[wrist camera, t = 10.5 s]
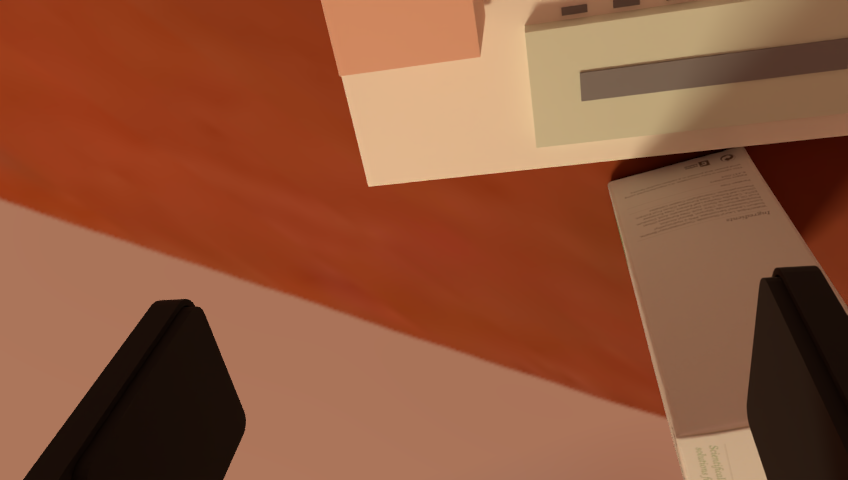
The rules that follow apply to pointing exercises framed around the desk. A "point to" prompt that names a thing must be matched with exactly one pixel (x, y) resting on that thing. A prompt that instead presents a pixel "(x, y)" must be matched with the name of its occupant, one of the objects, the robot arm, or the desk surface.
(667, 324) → the skincare box
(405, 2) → the stub
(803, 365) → the robot arm
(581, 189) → the desk surface
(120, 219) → the desk surface
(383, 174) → the ticket board
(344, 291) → the desk surface
